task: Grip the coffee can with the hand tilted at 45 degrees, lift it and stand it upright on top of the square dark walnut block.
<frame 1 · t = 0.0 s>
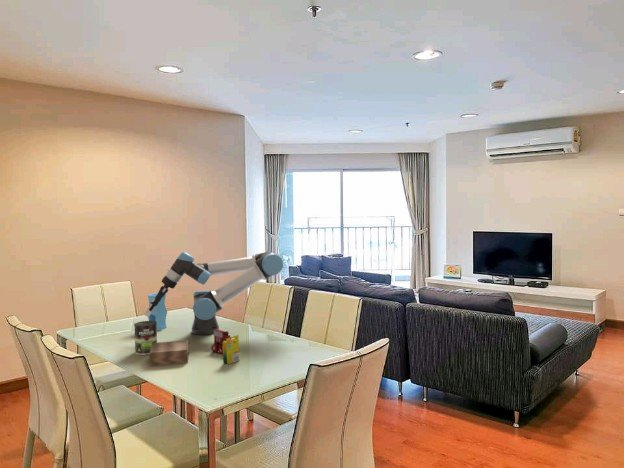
hand: (147, 313, 240), 15 cm above the table, tool tilted 35°, fingers open, 13 cm apart
crayon box: (231, 362, 207), on the table
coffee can: (146, 352, 224), on the table
walnut block: (170, 359, 212), on the table
vase: (157, 328, 269), on the table
toy fire truck: (223, 352, 222), on the table
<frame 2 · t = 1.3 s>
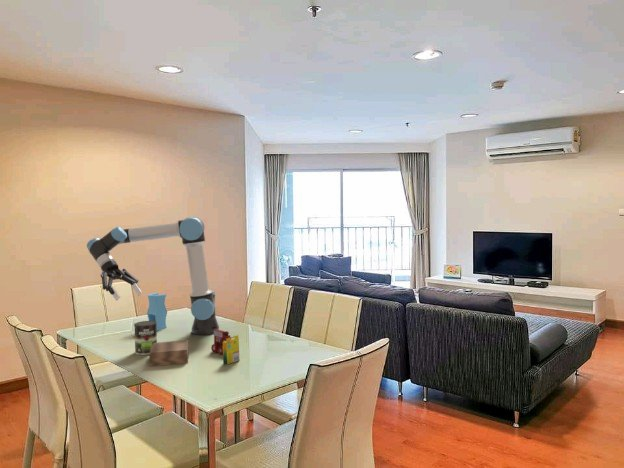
hand: (129, 296, 228), 26 cm above the table, tool tilted 45°, fingers open, 13 cm apart
nothing on the table moved.
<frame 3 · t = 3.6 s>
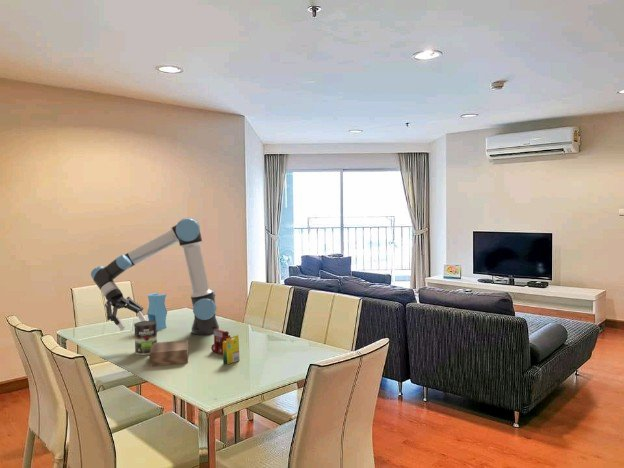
hand: (134, 325, 226), 12 cm above the table, tool tilted 45°, fingers open, 13 cm apart
nothing on the table moved.
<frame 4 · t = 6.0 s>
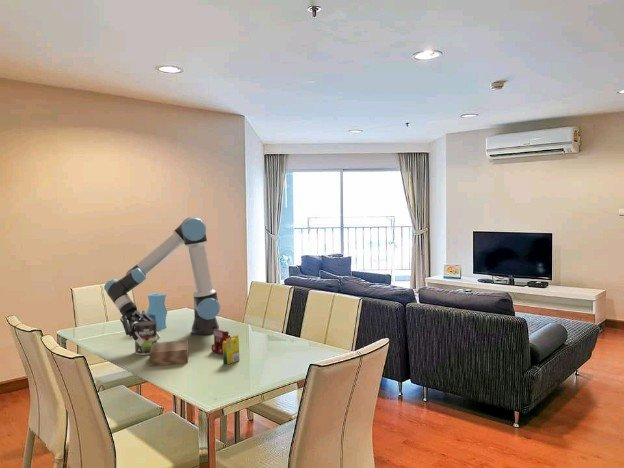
hand: (150, 341, 223), 5 cm above the table, tool tilted 45°, fingers closed on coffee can, 10 cm apart
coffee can: (146, 352, 224), on the table, touching gripper
everything else where it was.
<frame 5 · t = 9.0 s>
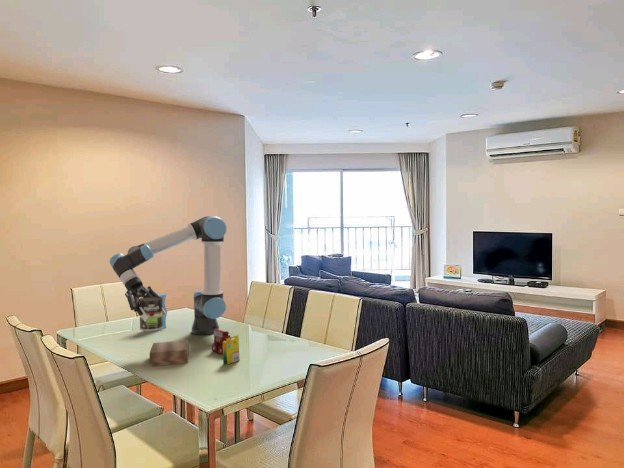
hand: (155, 317, 216), 18 cm above the table, tool tilted 45°, fingers closed on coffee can, 10 cm apart
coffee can: (151, 328, 218), point 13 cm above the table, touching gripper
everything else where it was.
when the fingers open (13 cm above the table, at t = 11.8 s): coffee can drops 1 cm, resting on walnut block.
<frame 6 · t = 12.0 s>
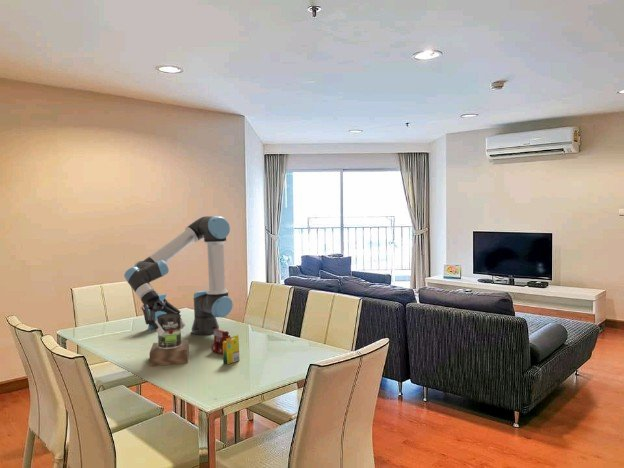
hand: (173, 330, 211), 14 cm above the table, tool tilted 45°, fingers open, 12 cm apart
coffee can: (170, 346, 212), point 6 cm above the table, touching walnut block
everything else where it was.
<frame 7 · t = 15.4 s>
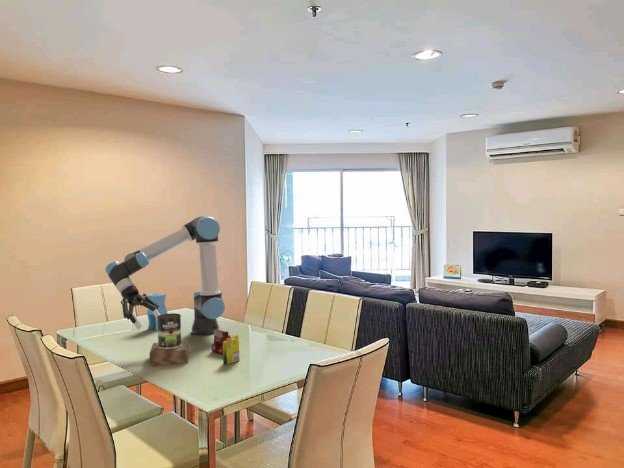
hand: (151, 324, 217), 15 cm above the table, tool tilted 45°, fingers open, 13 cm apart
nothing on the table moved.
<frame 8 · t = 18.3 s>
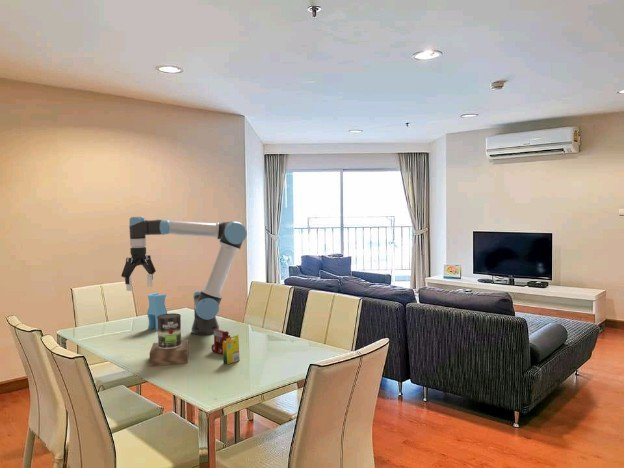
hand: (139, 288, 236), 29 cm above the table, tool pointing down, fingers open, 13 cm apart
nothing on the table moved.
at the end: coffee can inside the target area on the walnut block (0.2 cm from its centre), point 5.8 cm above the walnut block's base; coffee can tilted 0°; the gripper is holding nothing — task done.
